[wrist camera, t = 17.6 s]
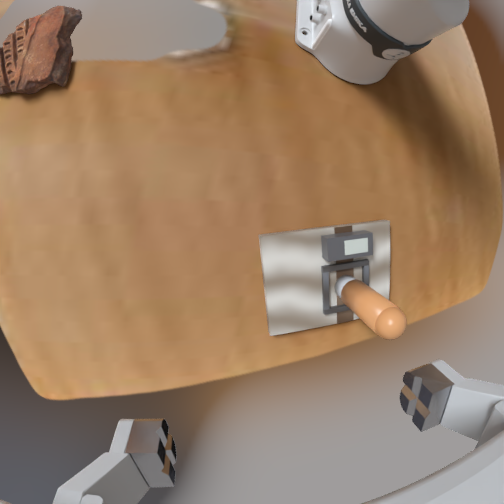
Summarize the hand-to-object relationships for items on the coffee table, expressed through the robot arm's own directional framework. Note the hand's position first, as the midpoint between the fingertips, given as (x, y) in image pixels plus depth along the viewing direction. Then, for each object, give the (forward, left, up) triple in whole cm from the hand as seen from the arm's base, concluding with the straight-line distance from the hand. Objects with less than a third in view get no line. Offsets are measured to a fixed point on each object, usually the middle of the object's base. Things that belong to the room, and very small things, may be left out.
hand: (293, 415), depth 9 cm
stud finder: (+3, +16, -34) cm, 37 cm away
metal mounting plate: (+8, +14, -35) cm, 39 cm away
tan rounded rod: (+10, +16, -34) cm, 38 cm away
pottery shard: (-34, -29, -36) cm, 57 cm away
